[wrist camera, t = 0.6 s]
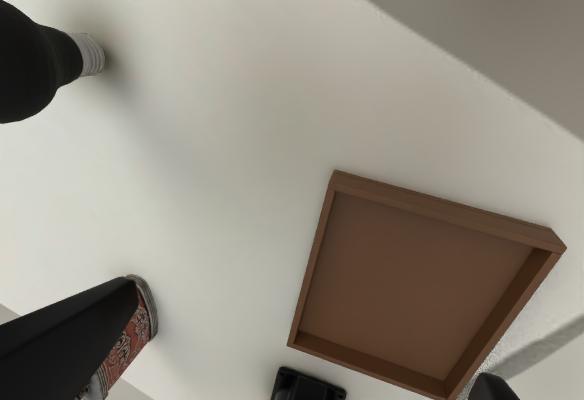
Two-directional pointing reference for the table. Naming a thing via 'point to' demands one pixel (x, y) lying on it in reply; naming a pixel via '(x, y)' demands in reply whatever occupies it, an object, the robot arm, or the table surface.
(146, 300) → the lighter
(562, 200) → the table surface
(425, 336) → the tray
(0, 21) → the light bulb
